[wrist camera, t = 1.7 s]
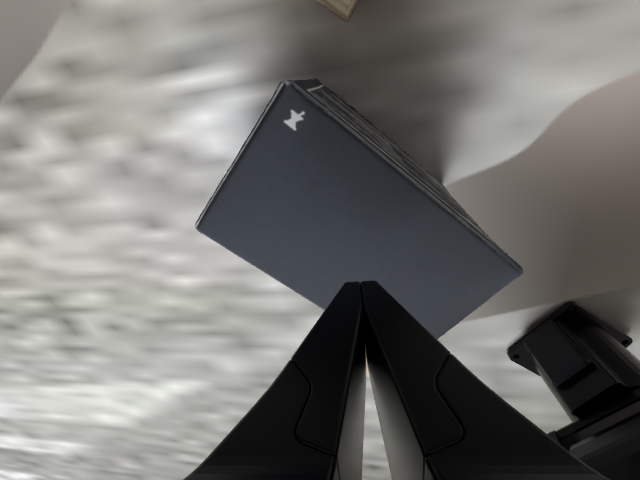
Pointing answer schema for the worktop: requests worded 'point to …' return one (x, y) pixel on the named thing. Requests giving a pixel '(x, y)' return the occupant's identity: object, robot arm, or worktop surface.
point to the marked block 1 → (340, 7)
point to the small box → (350, 213)
